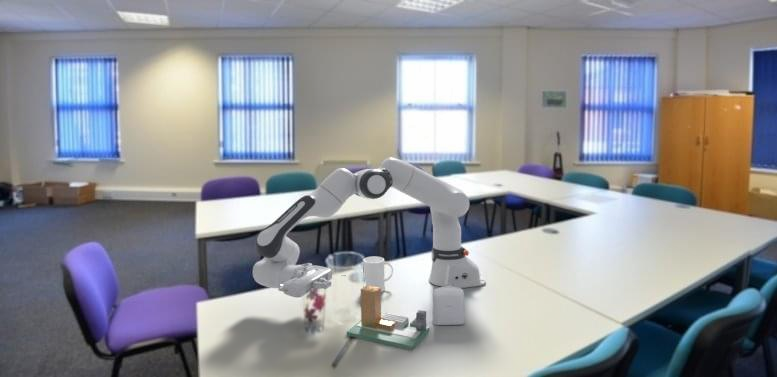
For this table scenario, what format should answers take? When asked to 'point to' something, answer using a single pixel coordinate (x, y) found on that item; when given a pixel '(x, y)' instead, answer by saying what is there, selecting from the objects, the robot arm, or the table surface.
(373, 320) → the tall wooden block
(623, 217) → the table surface
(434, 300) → the photo printer
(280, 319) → the table surface
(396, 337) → the board
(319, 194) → the robot arm
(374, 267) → the mug
